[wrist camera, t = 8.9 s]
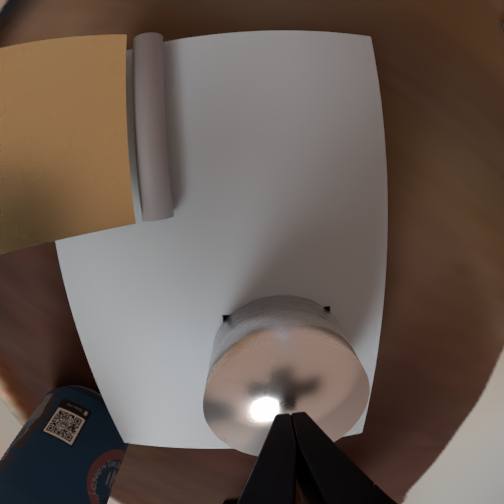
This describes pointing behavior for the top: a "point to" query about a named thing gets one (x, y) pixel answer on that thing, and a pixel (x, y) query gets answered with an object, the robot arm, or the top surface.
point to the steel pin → (281, 372)
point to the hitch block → (232, 215)
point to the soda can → (63, 452)
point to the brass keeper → (63, 140)
